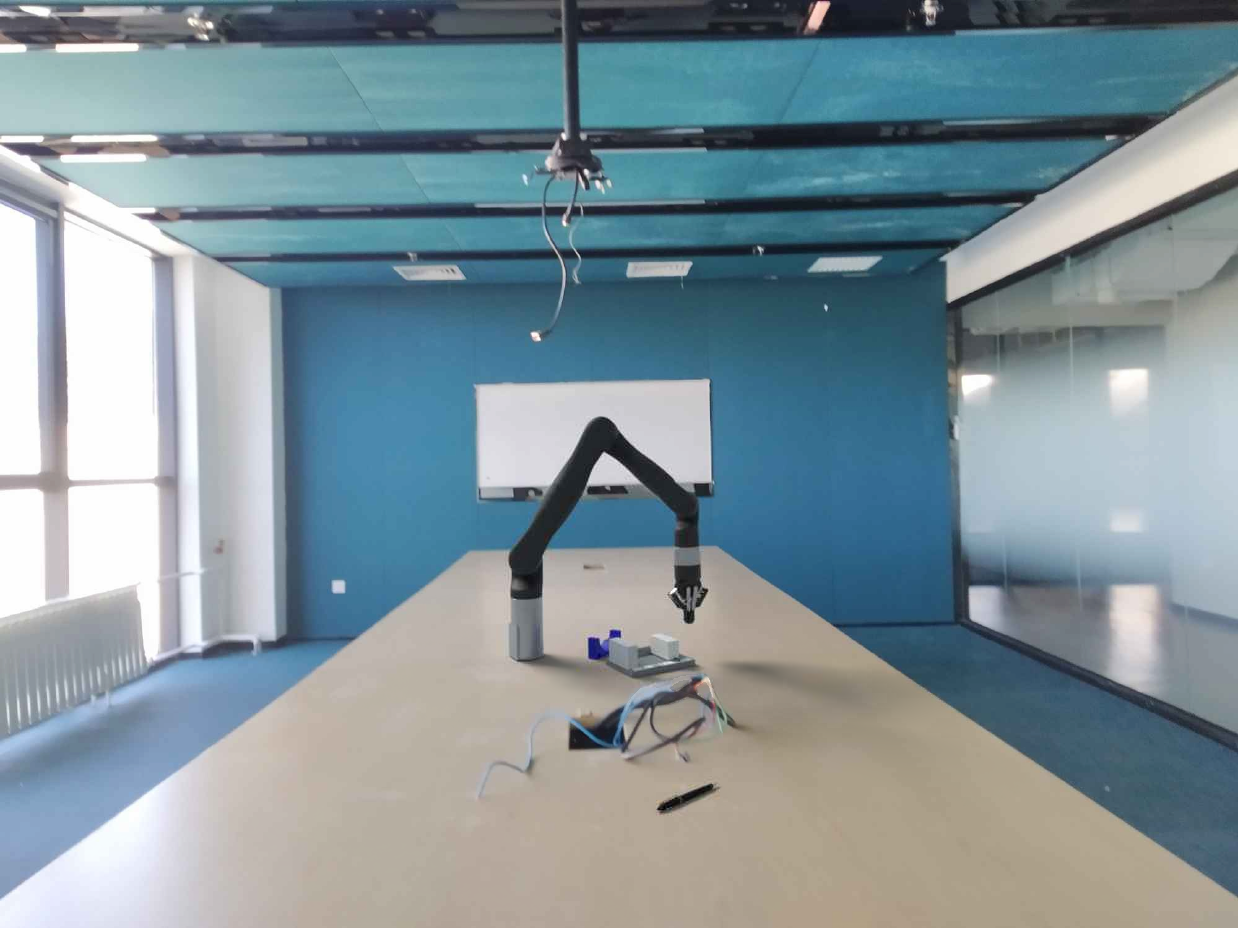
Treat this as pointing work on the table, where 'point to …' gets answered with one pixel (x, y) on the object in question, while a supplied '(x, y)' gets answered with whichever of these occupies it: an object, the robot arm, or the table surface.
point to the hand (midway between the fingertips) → (689, 623)
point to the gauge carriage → (664, 647)
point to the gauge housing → (640, 659)
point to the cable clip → (601, 650)
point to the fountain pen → (684, 797)
